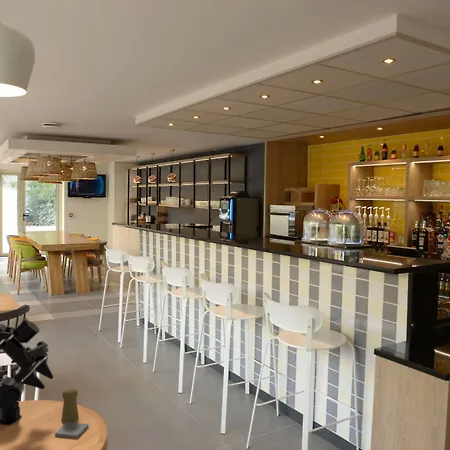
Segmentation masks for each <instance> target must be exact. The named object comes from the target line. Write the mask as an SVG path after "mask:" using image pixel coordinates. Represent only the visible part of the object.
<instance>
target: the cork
mask: <svg viewBox="0 0 450 450" xmlns="http://www.w3.org/2000/svg"><path fill="white" fill-rule="evenodd" d="M61 394H62V395H61V396H62V399H63V406H62V414H61V423H63V424H65V423H67V422H73V423H77V422H78V421H79V419H80V416H79V409H78V408H79V407H78V402H77V397H78V390H77V389H76V388H73V387H69V388H68V387H67V388H66V389H64V390H63V391H62V393H61Z"/></svg>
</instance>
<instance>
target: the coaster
mask: <svg viewBox="0 0 450 450" xmlns="http://www.w3.org/2000/svg"><path fill="white" fill-rule="evenodd" d="M88 428H89V423H82V422H67V423H63V425H62V426H61V427H60V428H59V429H58V430H57V431H56V432H55V433H54V436H55V437H61V438H72V439H79V437H80V436H82V434H83V433H84V432H85V431H86V430H87V429H88Z"/></svg>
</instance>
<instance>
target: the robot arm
mask: <svg viewBox="0 0 450 450" xmlns="http://www.w3.org/2000/svg"><path fill="white" fill-rule="evenodd" d="M38 333H40V328H39V327H38V325H37V324H36V323H34V322H31V321H30V320H28V319H27V318H25V319H23V321H21V323H20V324H19V325H18V326H16V327H14V326H8V325H7V326H6V325H5V324H4V323H3V324H2V323H0V351H2V352H4V353H5V354H6V356H8V357H9V358H10V359H11V361H10V363H11V364H12V365H13V364H14V363H15V364H16V365H17V366H18V368H19V371H18V373H16V374H14V376H13V377H10V376H5V378H4V379H3V380H1V381H0V425H8V426H11V425H13V424H15V423H16V422H17V421H18V420H20V419H21V418H22V417H23V416H22V415H21V407H20V402H19V400H20V399H21V397H22V394H23V393H24V391H25V385H26V386H31V387H33V388H38V389H41V390H44V389H45V387H46V385H44V383H43V382H42V381H41V379H40V378H39V377H38V375H37V373H38V374H40V375H42V376H44V377H46V378H48V379H50V380H52V379H53V378H54V375H53V373H52V371H51V368H50V367H49V365H48V359H49V357H48V355H49V354H48V353H47V352H49V348H48V345H49V344H47V343H46V342H44V341H43V340H41V341H39V342H37V343H36V346H35V347H33V348H31V347H30V346H27V347H25V346H24V345H23V344H27V343H29V342H30V341H31V340H32V339H33V338H35V336H37V335H38ZM10 337H11V338H10Z"/></svg>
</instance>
